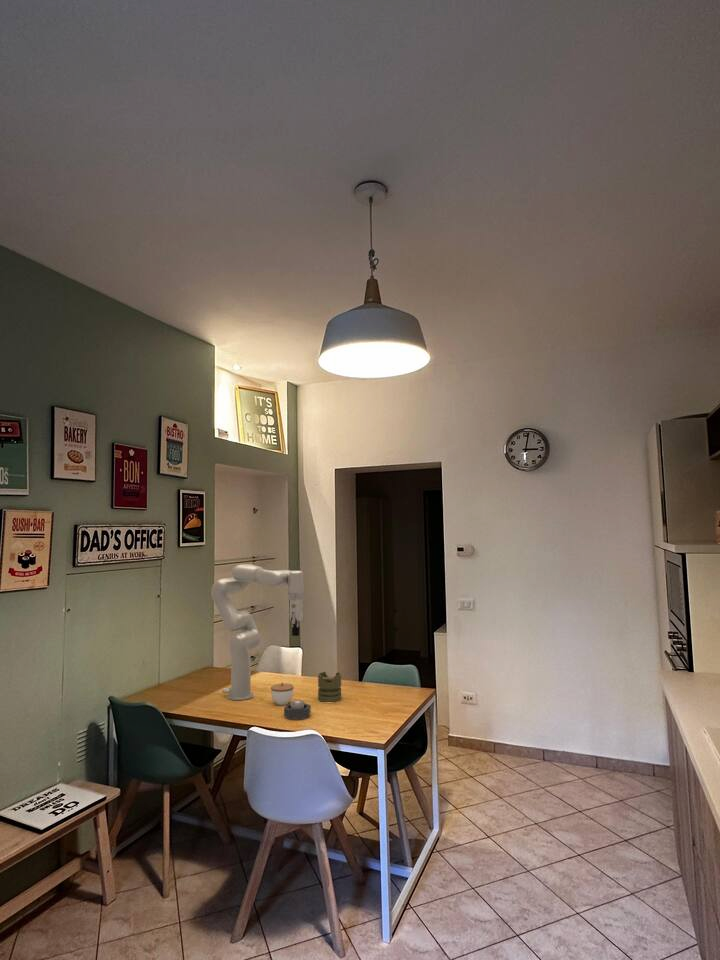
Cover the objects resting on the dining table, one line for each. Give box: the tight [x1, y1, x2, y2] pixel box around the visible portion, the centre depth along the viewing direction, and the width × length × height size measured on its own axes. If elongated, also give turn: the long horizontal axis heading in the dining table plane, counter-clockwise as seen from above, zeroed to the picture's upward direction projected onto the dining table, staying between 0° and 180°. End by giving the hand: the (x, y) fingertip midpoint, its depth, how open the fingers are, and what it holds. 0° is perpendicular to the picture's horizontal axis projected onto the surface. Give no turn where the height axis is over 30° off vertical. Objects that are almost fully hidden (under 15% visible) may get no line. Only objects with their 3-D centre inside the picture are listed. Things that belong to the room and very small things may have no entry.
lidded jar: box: [270, 682, 294, 706], centre depth 263 cm, size 11×11×9 cm
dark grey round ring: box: [283, 702, 312, 721], centre depth 243 cm, size 11×11×4 cm
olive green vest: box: [317, 671, 342, 703], centre depth 268 cm, size 11×12×11 cm
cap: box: [290, 699, 305, 709], centre depth 243 cm, size 6×6×5 cm
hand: (295, 635), depth 263 cm, fingers closed
